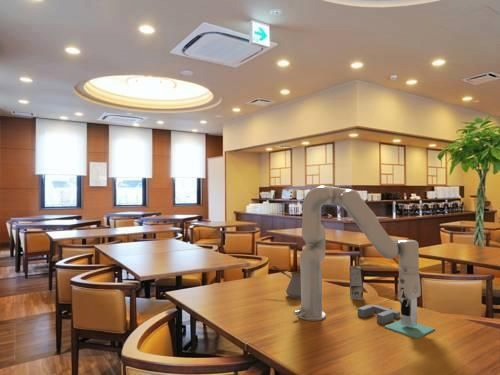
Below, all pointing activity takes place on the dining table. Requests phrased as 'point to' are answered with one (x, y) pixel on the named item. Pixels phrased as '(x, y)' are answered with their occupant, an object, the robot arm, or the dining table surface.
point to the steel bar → (410, 314)
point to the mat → (410, 329)
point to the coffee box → (356, 282)
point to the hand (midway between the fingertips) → (408, 313)
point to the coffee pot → (293, 284)
